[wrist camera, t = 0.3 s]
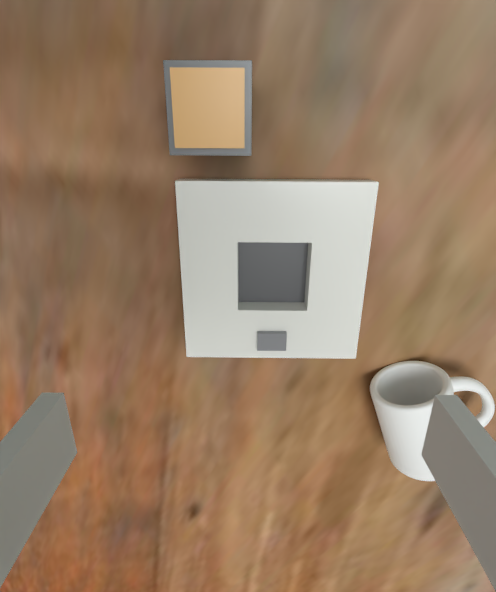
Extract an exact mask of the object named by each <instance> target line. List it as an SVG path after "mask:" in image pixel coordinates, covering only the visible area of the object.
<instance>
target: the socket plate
mask: <svg viewBox="0 0 496 592" xmlns="http://www.w3.org/2000/svg"><path fill="white" fill-rule="evenodd" d="M378 184H379V182H377V181H373V180H330V179H178V180H176V181H175V188H176V203H177V218H178V234H179V249H180V264H181V279H182V294H183V309H184V325H185V340H186V355H187V357H244V358H351V359H356V352H357V345H358V337H359V329H360V322H361V314H362V306H363V299H364V291H365V283H366V276H367V268H368V261H369V253H370V245H371V238H372V230H373V222H374V215H375V207H376V199H377V192H378Z"/></svg>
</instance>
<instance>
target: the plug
mask: <svg viewBox="0 0 496 592" xmlns="http://www.w3.org/2000/svg"><path fill="white" fill-rule="evenodd" d="M163 64H164V79H165V93H166V107H167V122H168V136H169V151H170V155H229V156H251V150H252V61H232V60H163Z"/></svg>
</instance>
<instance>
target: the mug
mask: <svg viewBox="0 0 496 592" xmlns="http://www.w3.org/2000/svg"><path fill="white" fill-rule="evenodd" d="M457 391H473V392H476V393H478V394H479V395H480V397H481V400H482V409H481V411H480V413H479V414H478V415H477V416H475V418H476V419H477V420H478V421H479V423H480V424H481V425H482V426H483V427H485V426H486V425H487V424H488V423H489V422H490V420H491V419H492V417H493V414H494V411H495V405H494V400H493V398H492V396H491V394H490V392H489V391H488V389H487V388H486V387H485V386H484V385H483V384H482V383H481V382H479V381H478V380H476V379H473V378H470V377H463V376H458V377H449V375H448V374H447V373H446V372H445V371H444V370H443V369H441V368H440V367H438V366H436V365H434V364H431V363H428V362H423V361H403V362H398V363H394V364H391V365H389V366H387V367H385V368H383V369H381V370H380V371H379V372H378V373H377V374H376V375H375V376H374V377H373V379H372V380H371V383H370V393H371V397H372V400H373V403H374V407H375V410H376V414H377V417H378V420H379V424H380V427H381V430H382V434H383V437H384V441H385V444H386V447H387V451H388V454H389V457H390V460H391V462H392V463H393V465H394V466H395V467H396V468H397V469H398V470H399V471H400V472H402V473H403V474H405V475H407V476H409V477H411V478H414V479H417V480H422V481H435V479H434V477H433V475H432V474H431V472H430V470H429V468H428V466H427V464H426V463H425V461H424V459H423V457H422V455H421V454H422V449H423V445H424V441H425V436H426V432H427V428H428V423H429V419H430V415H431V411H432V406H433V402H434V398H435V395H454V392H457Z"/></svg>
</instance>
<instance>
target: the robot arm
mask: <svg viewBox="0 0 496 592" xmlns="http://www.w3.org/2000/svg"><path fill="white" fill-rule="evenodd" d="M76 454H77V449H76V445H75V440H74V436H73V432H72V427H71V423H70V419H69V414H68V410H67V406H66V401H65V397H64V393H41V395H40V396H39V397H38V398H37V399H36V401H35V402H34V403H33V404H32V405H31V406H30V408H29V409H28V410H27V411H26V412H25V414H24V415H23V416H22V417H21V418H20V419H19V421H18V422H17V423H16V424H15V425H14V427H13V428H12V429H11V430H10V431H9V432H8V434H7V435H6V436H5V437H4V438H3V440H2V441H1V442H0V587H1V585H2V584H3V582H4V580H5V578H6V577H7V575H8V573H9V571H10V570H11V568H12V566H13V564H14V563H15V561H16V559H17V557H18V556H19V554H20V552H21V550H22V549H23V547H24V545H25V543H26V542H27V540H28V538H29V536H30V534H31V533H32V531H33V529H34V527H35V526H36V524H37V522H38V520H39V519H40V517H41V515H42V513H43V512H44V510H45V508H46V506H47V505H48V503H49V501H50V499H51V498H52V496H53V494H54V492H55V490H56V489H57V487H58V485H59V483H60V482H61V480H62V478H63V476H64V475H65V473H66V471H67V469H68V468H69V466H70V464H71V462H72V461H73V459H74V457H75V455H76ZM421 455H422V457H423V459H424V461H425V463H426V464H427V466H428V468H429V470H430V472H431V474H432V475H433V477H434V479H435V481H436V483H437V485H438V486H439V488H440V490H441V492H442V494H443V496H444V497H445V499H446V501H447V503H448V505H449V507H450V508H451V510H452V512H453V514H454V516H455V518H456V519H457V521H458V523H459V525H460V527H461V529H462V530H463V532H464V534H465V536H466V538H467V540H468V541H469V543H470V545H471V547H472V549H473V551H474V552H475V554H476V556H477V558H478V560H479V562H480V564H481V565H482V567H483V569H484V571H485V573H486V575H487V576H488V578H489V580H490V582H491V584H492V586H493V587H494V589H495V591H496V442H495V441H494V440H493V438H492V437H491V436H490V435H489V434H488V432H487V431H486V430H485V429H484V427H483V426H482V425H481V424H480V423H479V421H478V420H477V419H476V418H475V416H474V415H473V414H472V413H471V412H470V410H469V409H468V408H467V407H466V405H465V404H464V403H463V402H462V401H461V399H460V398H459V397H458V396H457V395H435V398H434V402H433V406H432V411H431V415H430V419H429V423H428V428H427V432H426V436H425V441H424V445H423V449H422V454H421Z"/></svg>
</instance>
